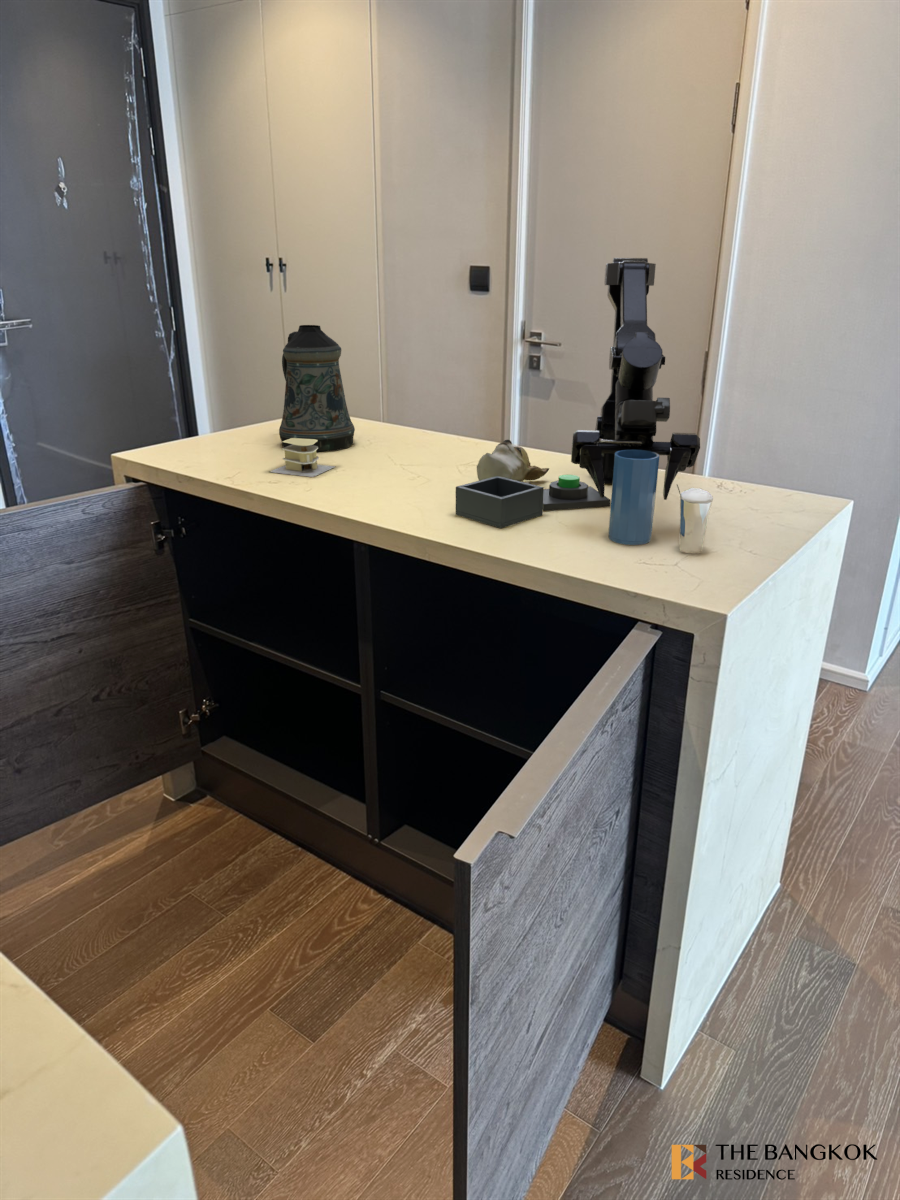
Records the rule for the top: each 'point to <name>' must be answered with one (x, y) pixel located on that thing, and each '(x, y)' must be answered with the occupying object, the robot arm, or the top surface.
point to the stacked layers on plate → (301, 458)
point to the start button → (569, 481)
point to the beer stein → (314, 391)
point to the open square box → (499, 501)
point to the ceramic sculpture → (508, 464)
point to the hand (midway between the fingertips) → (634, 497)
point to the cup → (633, 496)
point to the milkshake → (693, 518)
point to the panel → (572, 497)
